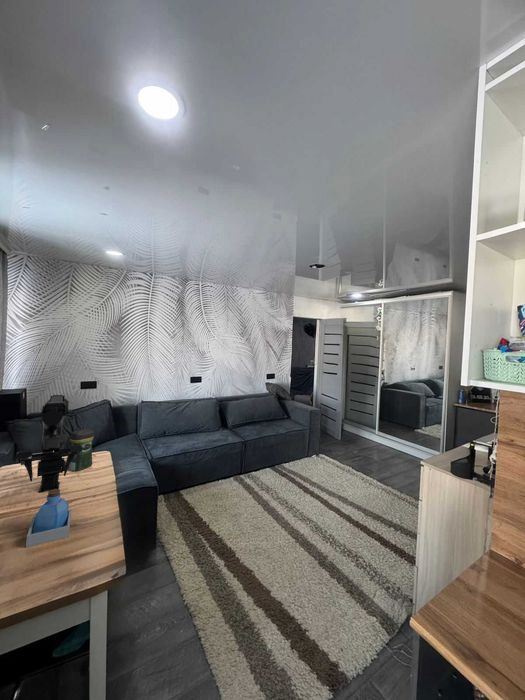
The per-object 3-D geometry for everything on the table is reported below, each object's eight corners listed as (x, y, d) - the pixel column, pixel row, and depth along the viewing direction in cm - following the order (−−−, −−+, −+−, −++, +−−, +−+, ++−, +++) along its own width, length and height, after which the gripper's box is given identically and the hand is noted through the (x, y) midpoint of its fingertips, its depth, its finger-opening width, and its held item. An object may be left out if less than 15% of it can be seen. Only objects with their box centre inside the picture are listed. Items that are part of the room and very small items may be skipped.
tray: (32, 527, 87) (33, 517, 88) (70, 519, 93) (71, 509, 93) (25, 547, 79) (26, 536, 79) (68, 537, 84) (69, 526, 84)
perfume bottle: (33, 536, 83) (36, 496, 83) (46, 523, 89) (49, 486, 89) (55, 535, 84) (58, 496, 84) (67, 522, 90) (70, 486, 90)
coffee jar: (84, 462, 138) (87, 426, 138) (94, 466, 134) (97, 429, 135) (64, 469, 129) (67, 430, 129) (74, 473, 125) (77, 433, 126)
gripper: (18, 429, 90) (11, 479, 83) (84, 425, 102) (83, 468, 95) (19, 439, 98) (12, 486, 91) (80, 434, 109) (79, 475, 102)
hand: (48, 478), depth 94 cm, fingers open, 9 cm apart
